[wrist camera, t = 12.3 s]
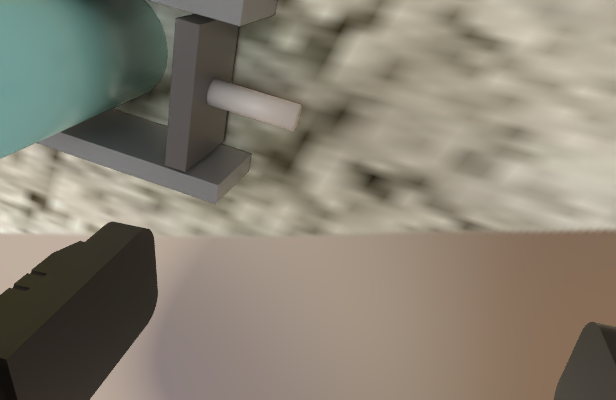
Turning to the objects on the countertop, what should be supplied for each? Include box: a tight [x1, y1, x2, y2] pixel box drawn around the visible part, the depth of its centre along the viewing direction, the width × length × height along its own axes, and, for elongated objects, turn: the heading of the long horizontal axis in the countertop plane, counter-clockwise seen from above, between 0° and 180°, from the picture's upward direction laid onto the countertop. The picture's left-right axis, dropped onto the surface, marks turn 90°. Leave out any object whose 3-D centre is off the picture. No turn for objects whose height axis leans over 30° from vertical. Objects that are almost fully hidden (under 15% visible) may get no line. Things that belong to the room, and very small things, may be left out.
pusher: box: [165, 14, 302, 172], centre depth 22 cm, size 5×6×4 cm
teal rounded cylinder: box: [0, 0, 167, 159], centre depth 21 cm, size 6×6×10 cm
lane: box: [36, 0, 277, 204], centre depth 24 cm, size 20×9×4 cm, turn 78°
